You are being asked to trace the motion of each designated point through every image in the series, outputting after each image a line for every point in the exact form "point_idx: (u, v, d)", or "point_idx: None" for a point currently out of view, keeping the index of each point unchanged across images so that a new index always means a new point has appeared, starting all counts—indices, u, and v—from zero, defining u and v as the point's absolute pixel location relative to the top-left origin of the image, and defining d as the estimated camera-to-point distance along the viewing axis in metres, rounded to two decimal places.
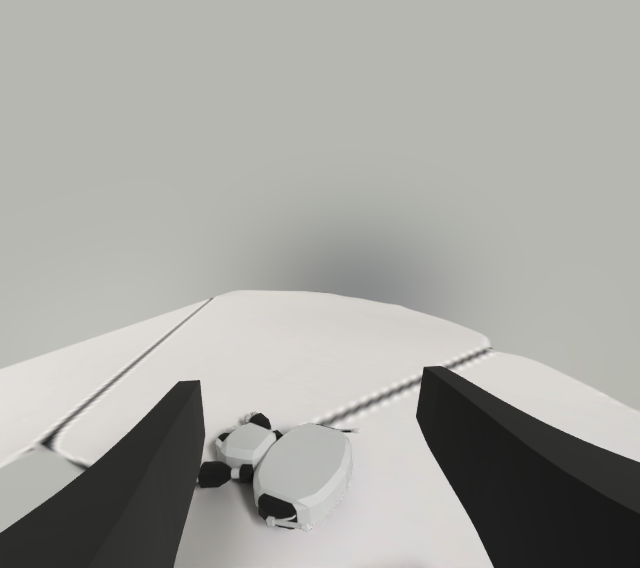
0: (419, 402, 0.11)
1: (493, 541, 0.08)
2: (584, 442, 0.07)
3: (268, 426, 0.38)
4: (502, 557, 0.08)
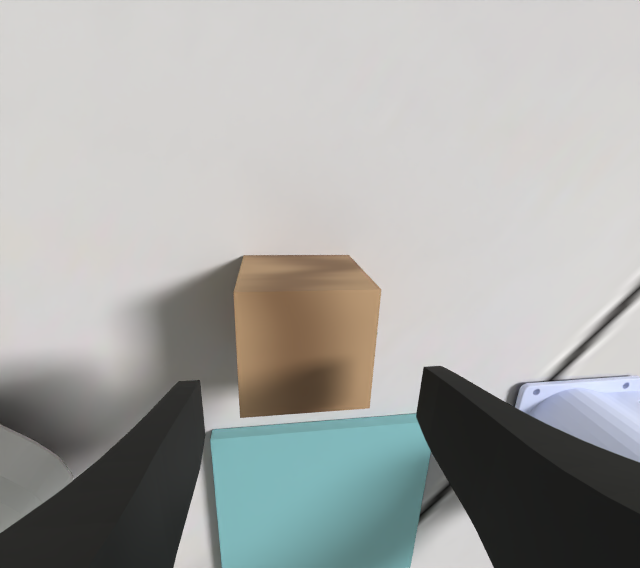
0: (419, 402, 0.11)
1: (493, 541, 0.08)
2: (583, 442, 0.07)
3: None
4: (502, 557, 0.08)
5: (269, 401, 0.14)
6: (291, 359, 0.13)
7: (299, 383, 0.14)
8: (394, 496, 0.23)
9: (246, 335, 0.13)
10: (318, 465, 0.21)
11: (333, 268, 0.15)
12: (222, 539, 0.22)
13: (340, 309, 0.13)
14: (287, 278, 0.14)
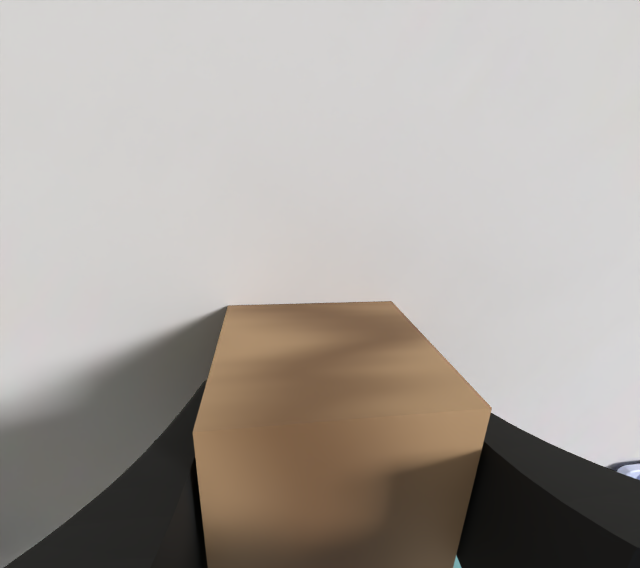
0: None
1: (463, 545, 0.08)
2: (551, 445, 0.07)
3: None
4: (470, 562, 0.07)
5: None
6: (313, 535, 0.07)
7: None
8: None
9: (223, 506, 0.06)
10: None
11: (379, 338, 0.09)
12: None
13: (409, 447, 0.06)
14: (303, 373, 0.07)
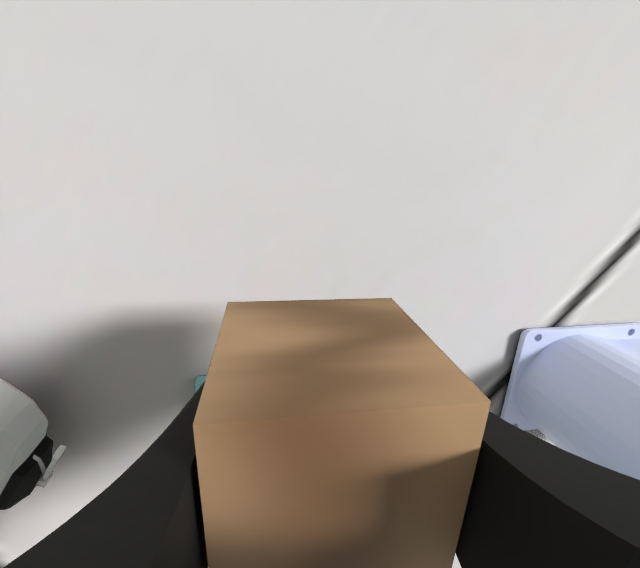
0: None
1: (463, 545, 0.08)
2: (551, 445, 0.07)
3: None
4: (471, 562, 0.07)
5: None
6: (313, 530, 0.07)
7: (326, 565, 0.07)
8: None
9: (223, 499, 0.06)
10: None
11: (379, 334, 0.09)
12: None
13: (409, 441, 0.06)
14: (303, 368, 0.07)
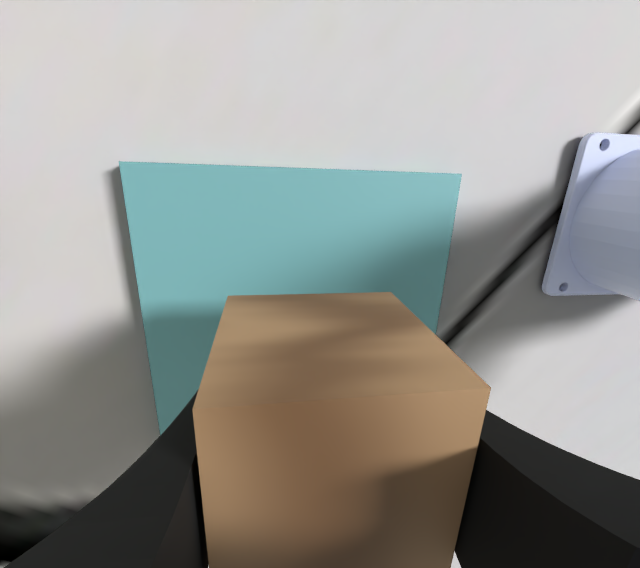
0: None
1: (462, 545, 0.08)
2: (551, 446, 0.07)
3: None
4: (470, 562, 0.07)
5: None
6: (313, 518, 0.07)
7: (326, 555, 0.07)
8: None
9: (223, 486, 0.06)
10: (289, 235, 0.14)
11: (378, 325, 0.09)
12: (152, 354, 0.15)
13: (409, 427, 0.06)
14: (303, 356, 0.07)
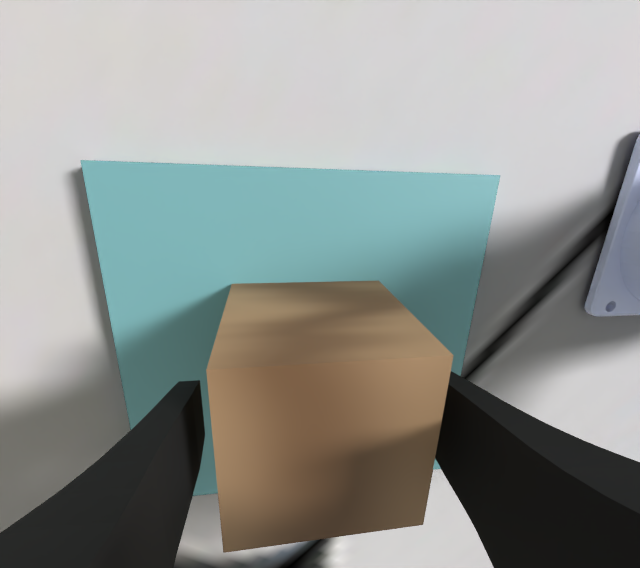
0: None
1: (493, 541, 0.08)
2: (583, 442, 0.07)
3: None
4: (502, 557, 0.08)
5: (269, 527, 0.09)
6: (306, 465, 0.08)
7: (318, 499, 0.09)
8: None
9: (230, 436, 0.07)
10: (293, 249, 0.12)
11: (364, 307, 0.10)
12: (129, 391, 0.13)
13: (385, 388, 0.08)
14: (298, 332, 0.09)
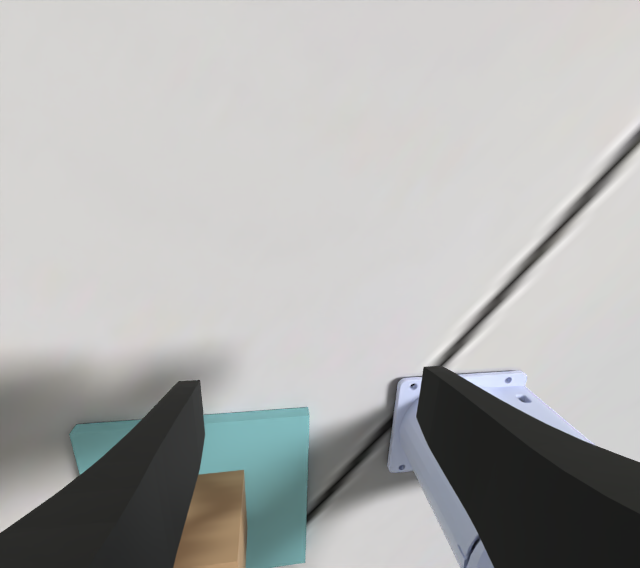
0: (419, 402, 0.11)
1: (493, 541, 0.08)
2: (583, 442, 0.07)
3: None
4: (502, 557, 0.08)
5: None
6: None
7: None
8: (276, 491, 0.23)
9: None
10: None
11: (218, 509, 0.19)
12: None
13: None
14: None
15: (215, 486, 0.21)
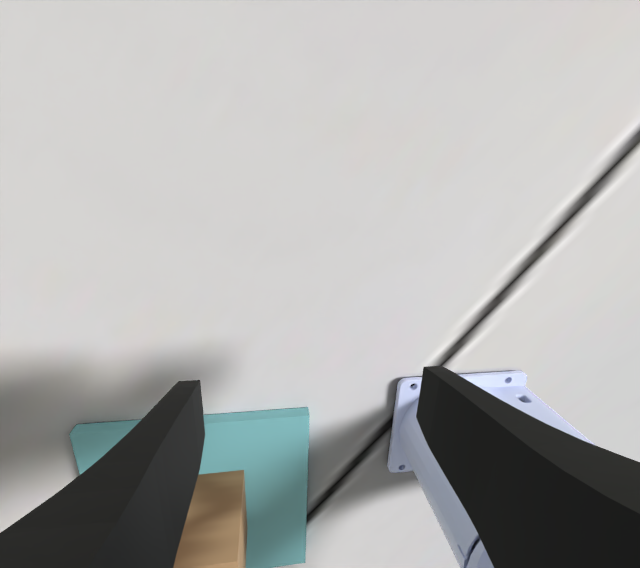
0: (419, 402, 0.11)
1: (493, 541, 0.08)
2: (583, 442, 0.07)
3: None
4: (502, 557, 0.08)
5: None
6: None
7: None
8: (276, 491, 0.23)
9: None
10: None
11: (218, 509, 0.19)
12: None
13: None
14: None
15: (215, 486, 0.21)
